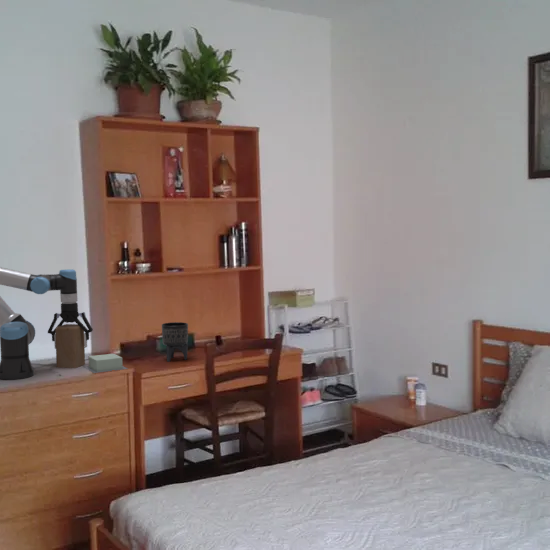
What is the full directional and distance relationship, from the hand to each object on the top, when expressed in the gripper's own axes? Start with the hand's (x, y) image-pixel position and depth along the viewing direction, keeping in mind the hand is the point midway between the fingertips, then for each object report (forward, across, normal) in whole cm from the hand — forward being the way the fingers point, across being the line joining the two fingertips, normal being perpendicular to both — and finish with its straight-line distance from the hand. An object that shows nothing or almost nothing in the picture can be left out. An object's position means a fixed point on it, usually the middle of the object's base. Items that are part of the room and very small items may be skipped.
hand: (71, 347), depth 315 cm
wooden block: (+10, 0, 0) cm, 10 cm away
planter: (+10, +48, +13) cm, 50 cm away
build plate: (+10, +17, -7) cm, 20 cm away
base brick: (+9, +17, -7) cm, 20 cm away
